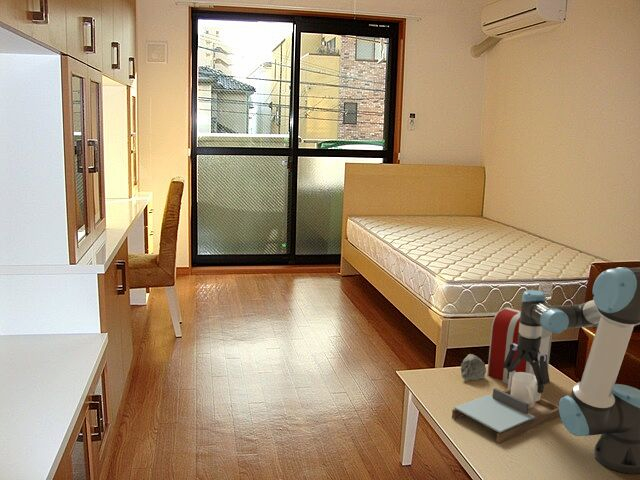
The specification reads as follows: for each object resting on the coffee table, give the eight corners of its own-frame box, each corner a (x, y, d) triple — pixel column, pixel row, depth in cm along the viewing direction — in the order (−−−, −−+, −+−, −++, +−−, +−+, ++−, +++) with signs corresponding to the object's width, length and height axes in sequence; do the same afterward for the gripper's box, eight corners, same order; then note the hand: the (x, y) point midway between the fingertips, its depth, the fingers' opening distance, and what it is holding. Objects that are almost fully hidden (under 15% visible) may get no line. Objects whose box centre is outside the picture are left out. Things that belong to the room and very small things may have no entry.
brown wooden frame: (561, 415, 220) (562, 407, 219) (498, 443, 200) (499, 434, 200) (514, 393, 236) (515, 386, 235) (451, 417, 216) (452, 409, 216)
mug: (541, 414, 216) (545, 387, 214) (518, 414, 216) (521, 386, 213) (529, 398, 228) (532, 372, 226) (506, 398, 227) (509, 371, 225)
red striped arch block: (525, 390, 239) (532, 323, 233) (485, 375, 251) (491, 311, 246) (548, 379, 249) (555, 314, 244) (508, 365, 262) (515, 303, 256)
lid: (534, 418, 211) (536, 406, 210) (499, 432, 200) (501, 420, 199) (488, 395, 226) (489, 384, 225) (454, 408, 216) (455, 397, 215)
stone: (479, 357, 243) (473, 347, 252) (458, 372, 244) (452, 362, 254) (493, 375, 244) (486, 364, 254) (472, 390, 246) (466, 379, 255)
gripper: (565, 343, 210) (558, 404, 214) (509, 323, 228) (504, 380, 232) (552, 347, 206) (545, 410, 210) (496, 327, 224) (491, 385, 228)
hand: (523, 394), depth 221 cm, fingers closed on mug, 10 cm apart
